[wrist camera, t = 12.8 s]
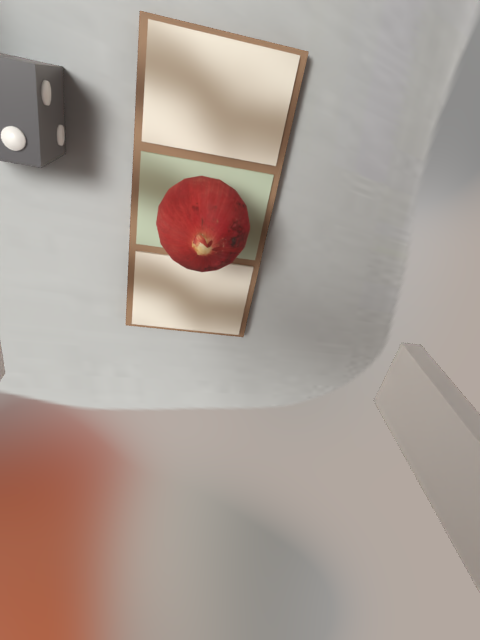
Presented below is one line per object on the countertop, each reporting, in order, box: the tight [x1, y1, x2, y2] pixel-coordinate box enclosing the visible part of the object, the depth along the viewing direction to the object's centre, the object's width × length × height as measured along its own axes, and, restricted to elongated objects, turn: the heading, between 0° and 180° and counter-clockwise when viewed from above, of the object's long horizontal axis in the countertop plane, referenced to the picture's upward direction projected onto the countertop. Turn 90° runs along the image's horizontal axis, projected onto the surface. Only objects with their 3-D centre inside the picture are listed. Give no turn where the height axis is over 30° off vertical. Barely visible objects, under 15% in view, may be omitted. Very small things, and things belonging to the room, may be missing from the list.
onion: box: [156, 175, 250, 272], centre depth 24 cm, size 6×6×8 cm
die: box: [0, 53, 66, 168], centre depth 22 cm, size 5×5×5 cm
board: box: [126, 11, 308, 337], centre depth 28 cm, size 21×10×1 cm, turn 169°
